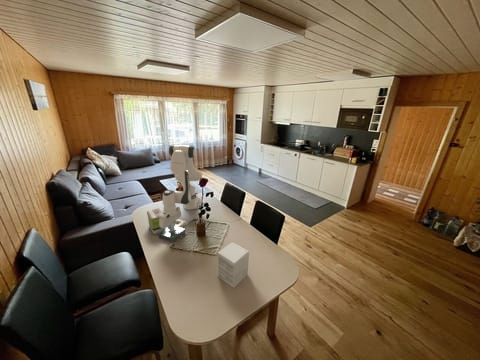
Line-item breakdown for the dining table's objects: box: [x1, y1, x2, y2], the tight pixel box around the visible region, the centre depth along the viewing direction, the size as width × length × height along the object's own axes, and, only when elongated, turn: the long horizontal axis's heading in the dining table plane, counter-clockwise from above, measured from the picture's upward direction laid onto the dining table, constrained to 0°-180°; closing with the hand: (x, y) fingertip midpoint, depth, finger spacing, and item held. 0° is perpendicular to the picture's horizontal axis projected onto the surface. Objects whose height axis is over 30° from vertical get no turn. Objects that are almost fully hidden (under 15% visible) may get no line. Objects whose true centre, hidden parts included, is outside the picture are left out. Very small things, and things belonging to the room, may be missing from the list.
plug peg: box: [170, 221, 175, 234], centre depth 149 cm, size 4×4×12 cm
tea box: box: [146, 207, 167, 235], centre depth 158 cm, size 15×10×15 cm, turn 37°
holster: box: [175, 218, 187, 228], centre depth 165 cm, size 10×10×3 cm
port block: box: [158, 226, 186, 244], centre depth 151 cm, size 14×14×5 cm
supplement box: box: [217, 241, 250, 289], centre depth 113 cm, size 13×13×18 cm
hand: (171, 227), depth 149 cm, fingers closed on plug peg, 4 cm apart
